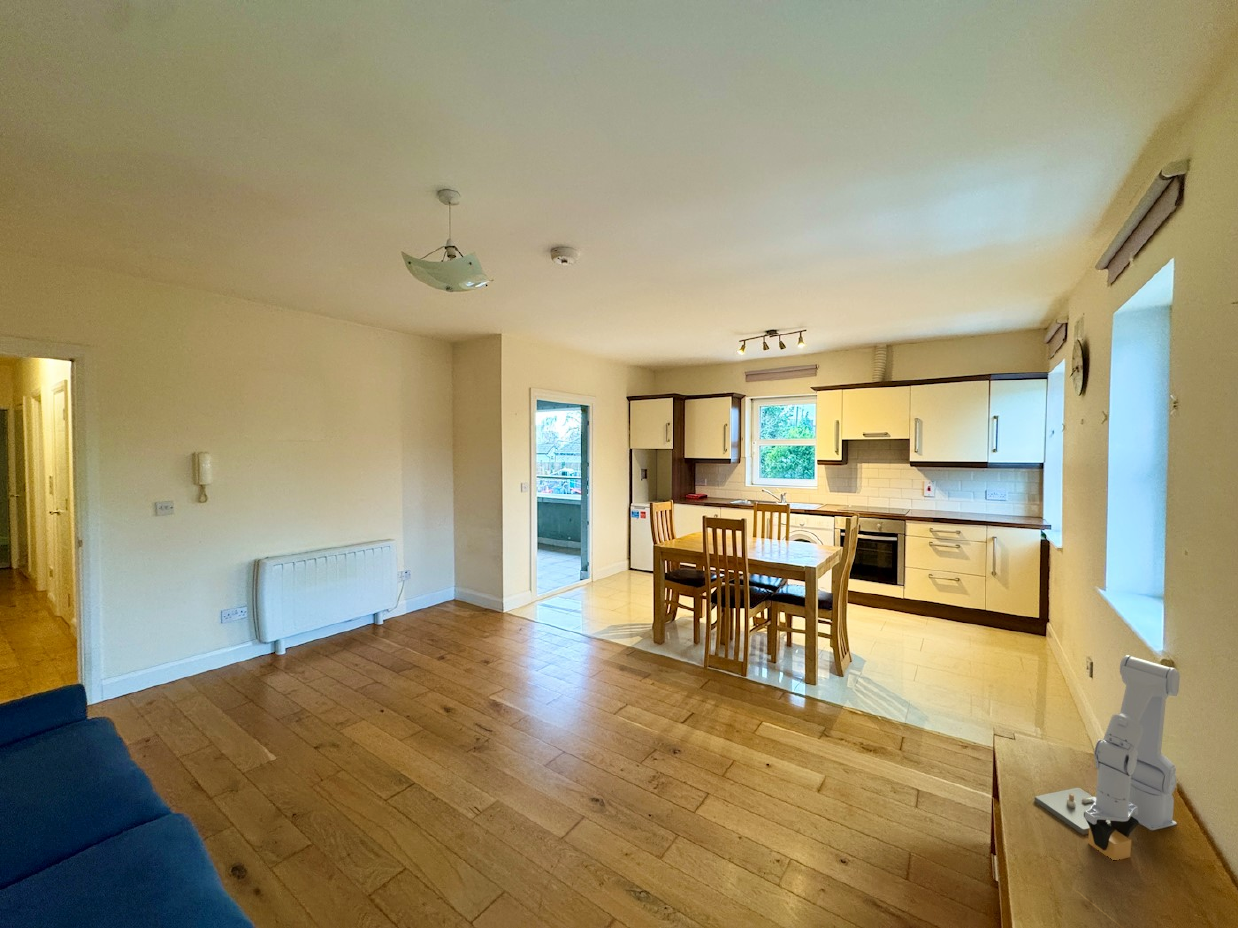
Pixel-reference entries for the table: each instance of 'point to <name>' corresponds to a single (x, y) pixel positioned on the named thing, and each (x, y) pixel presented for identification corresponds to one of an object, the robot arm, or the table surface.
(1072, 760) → the table surface
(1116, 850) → the light wooden brick
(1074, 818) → the flat gray rectangular board
